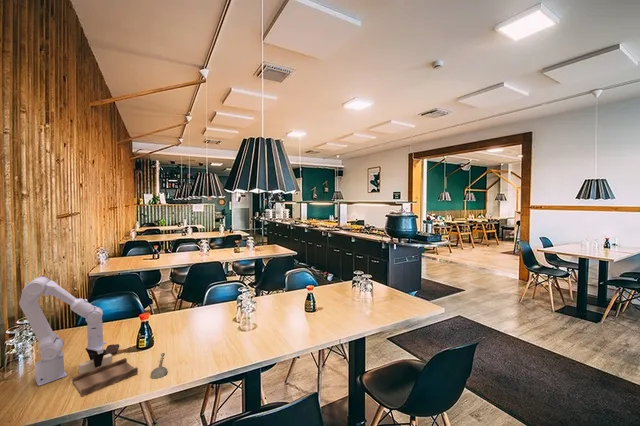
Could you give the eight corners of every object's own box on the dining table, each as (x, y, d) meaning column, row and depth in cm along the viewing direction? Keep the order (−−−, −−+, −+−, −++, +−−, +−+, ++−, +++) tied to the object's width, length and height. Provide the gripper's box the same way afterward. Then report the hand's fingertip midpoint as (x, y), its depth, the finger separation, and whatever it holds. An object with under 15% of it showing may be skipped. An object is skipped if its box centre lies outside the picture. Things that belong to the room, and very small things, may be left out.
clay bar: (80, 375, 134) (80, 366, 134) (78, 372, 136) (78, 364, 135) (112, 363, 143) (112, 355, 143) (110, 361, 145) (109, 353, 145)
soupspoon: (149, 383, 129) (166, 380, 132) (149, 375, 129) (166, 373, 132) (155, 356, 150) (170, 354, 152) (156, 350, 150) (170, 348, 152)
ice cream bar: (114, 359, 147) (119, 346, 161) (114, 356, 147) (119, 343, 161) (101, 361, 145) (107, 348, 159) (101, 358, 145) (107, 345, 158)
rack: (82, 396, 119) (81, 390, 119) (72, 383, 127) (72, 377, 127) (137, 373, 134) (137, 368, 134) (125, 363, 143) (125, 357, 143)
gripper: (110, 336, 137) (111, 365, 138) (100, 328, 146) (101, 355, 147) (92, 342, 132) (92, 372, 132) (82, 333, 141) (83, 361, 141)
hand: (96, 364), depth 139 cm, fingers open, 5 cm apart
